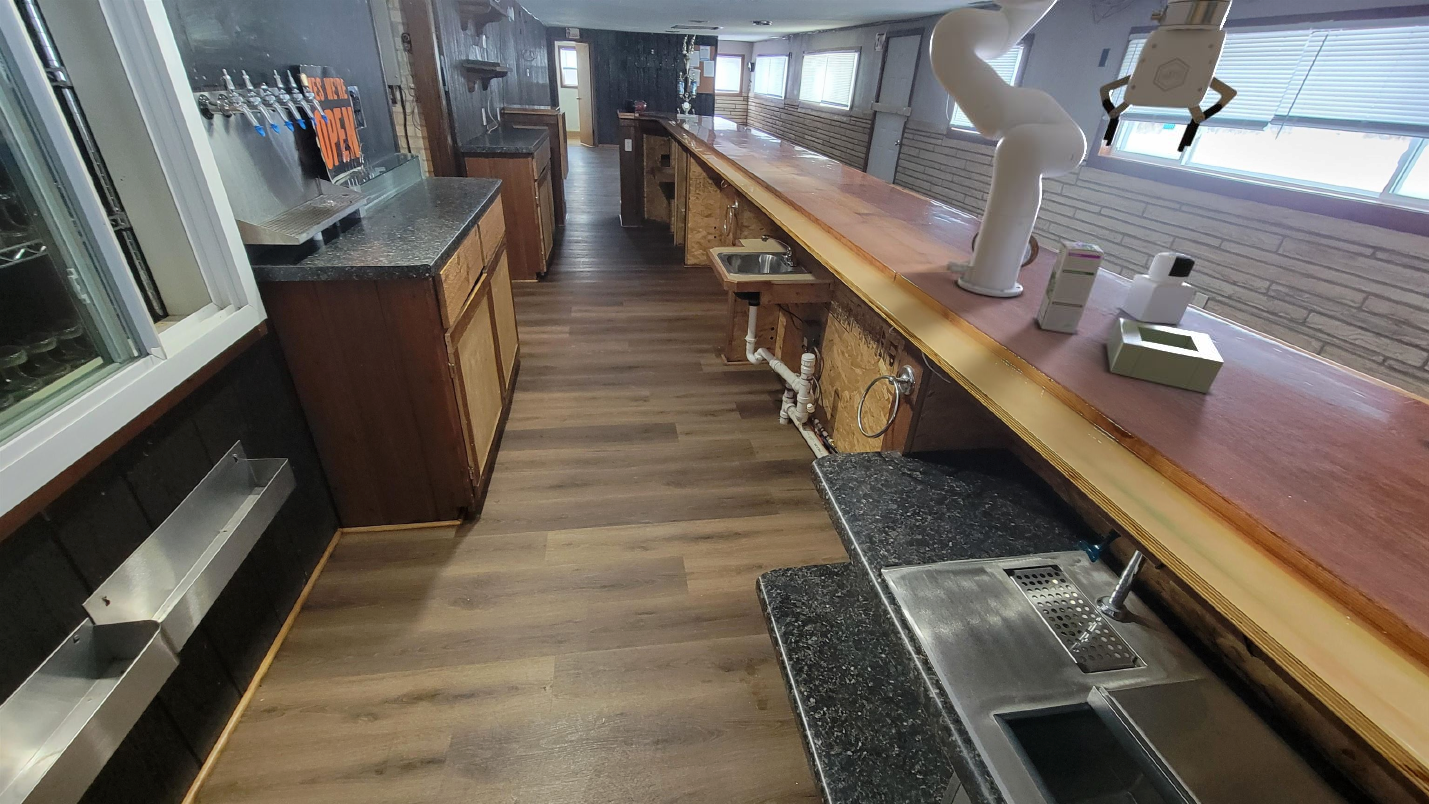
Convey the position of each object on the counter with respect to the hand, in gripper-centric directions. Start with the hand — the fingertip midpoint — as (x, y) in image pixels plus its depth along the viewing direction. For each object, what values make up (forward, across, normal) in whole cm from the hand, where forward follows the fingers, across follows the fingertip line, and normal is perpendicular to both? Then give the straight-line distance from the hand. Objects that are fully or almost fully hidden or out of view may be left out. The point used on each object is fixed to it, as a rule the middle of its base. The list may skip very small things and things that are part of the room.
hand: (1143, 148), depth 90 cm
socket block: (+30, +12, -15) cm, 35 cm away
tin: (+30, -20, +32) cm, 48 cm away
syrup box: (+30, -3, -6) cm, 30 cm away
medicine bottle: (+30, +11, +13) cm, 34 cm away
